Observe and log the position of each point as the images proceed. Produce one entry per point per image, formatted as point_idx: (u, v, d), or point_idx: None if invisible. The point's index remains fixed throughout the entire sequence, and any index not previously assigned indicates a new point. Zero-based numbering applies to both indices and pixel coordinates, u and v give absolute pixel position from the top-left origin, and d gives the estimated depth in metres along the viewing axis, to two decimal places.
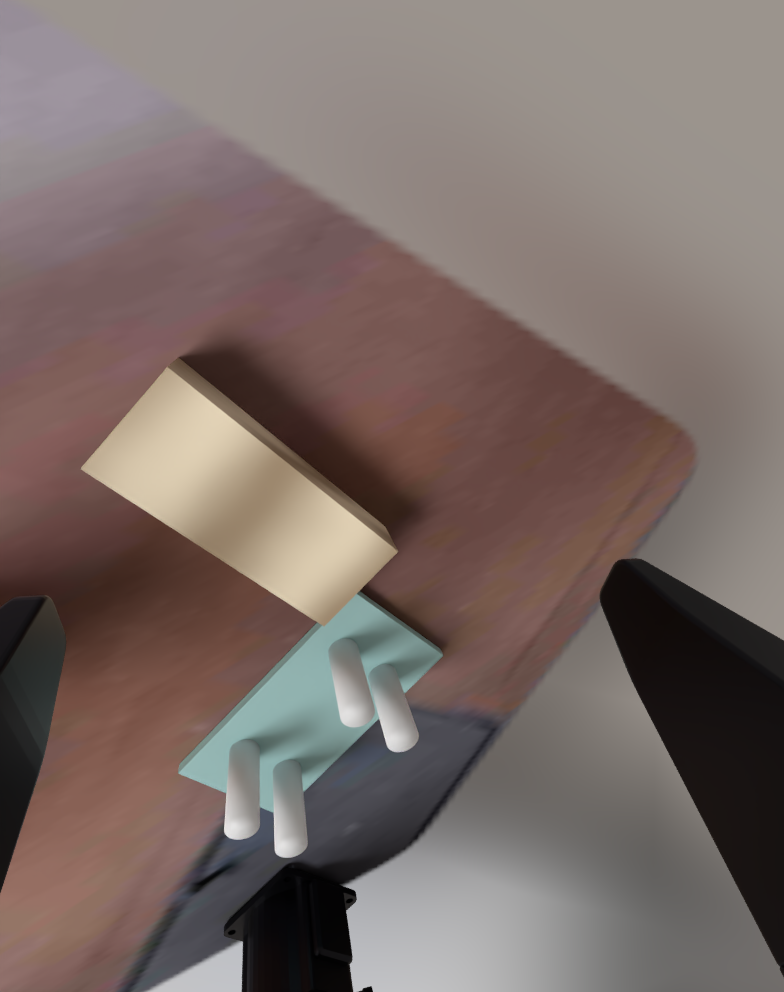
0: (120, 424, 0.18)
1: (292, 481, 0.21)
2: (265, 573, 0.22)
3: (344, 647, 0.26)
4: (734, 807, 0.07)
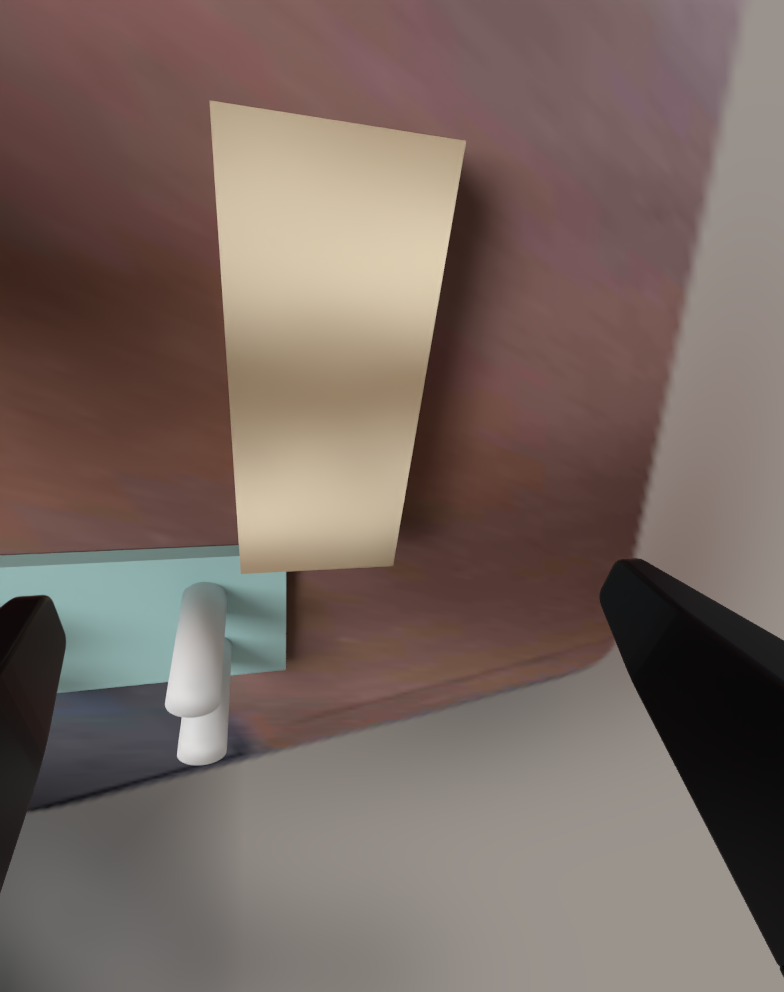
0: (333, 123, 0.10)
1: (403, 411, 0.14)
2: (256, 470, 0.14)
3: (218, 600, 0.18)
4: (734, 807, 0.07)
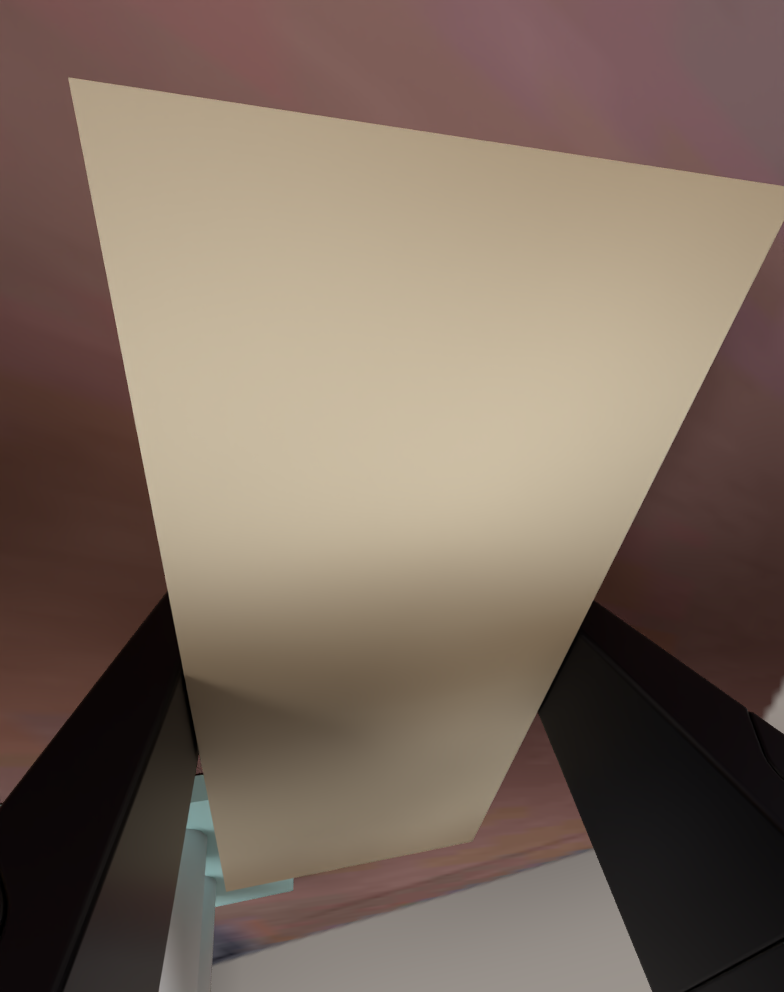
0: (466, 148, 0.03)
1: (526, 678, 0.07)
2: (249, 786, 0.07)
3: (191, 864, 0.12)
4: (616, 832, 0.07)
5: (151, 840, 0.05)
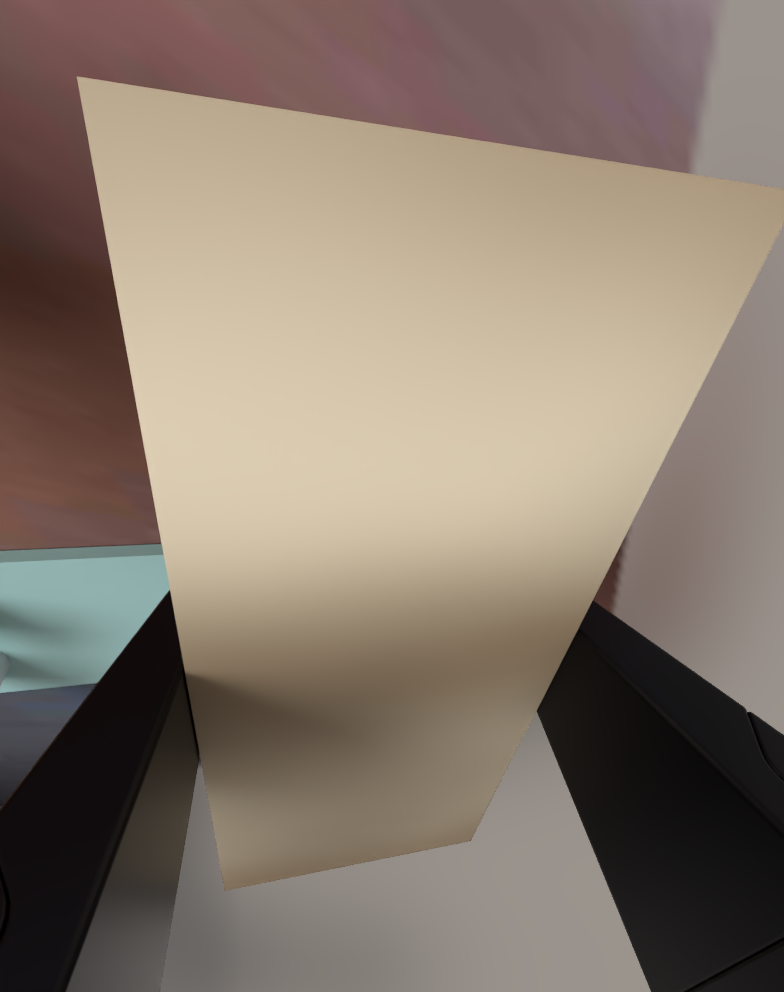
0: (471, 149, 0.03)
1: (526, 678, 0.07)
2: (248, 785, 0.07)
3: None
4: (615, 833, 0.07)
5: (153, 840, 0.05)
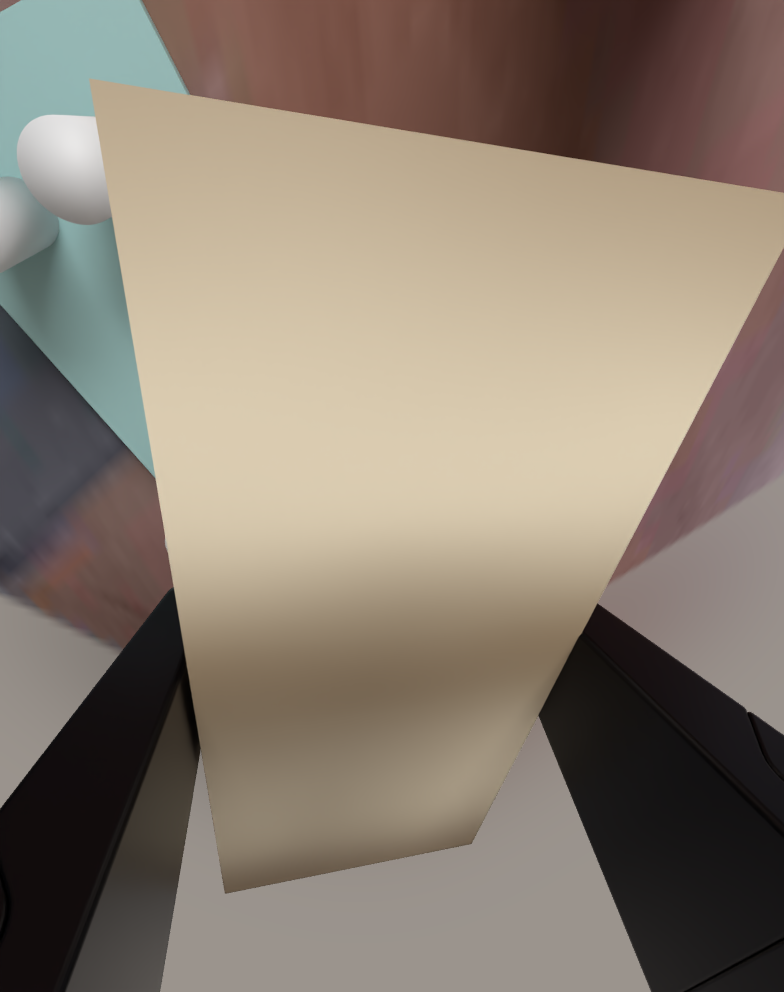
0: (483, 153, 0.03)
1: (529, 681, 0.07)
2: (250, 788, 0.07)
3: None
4: (615, 832, 0.07)
5: (153, 840, 0.05)
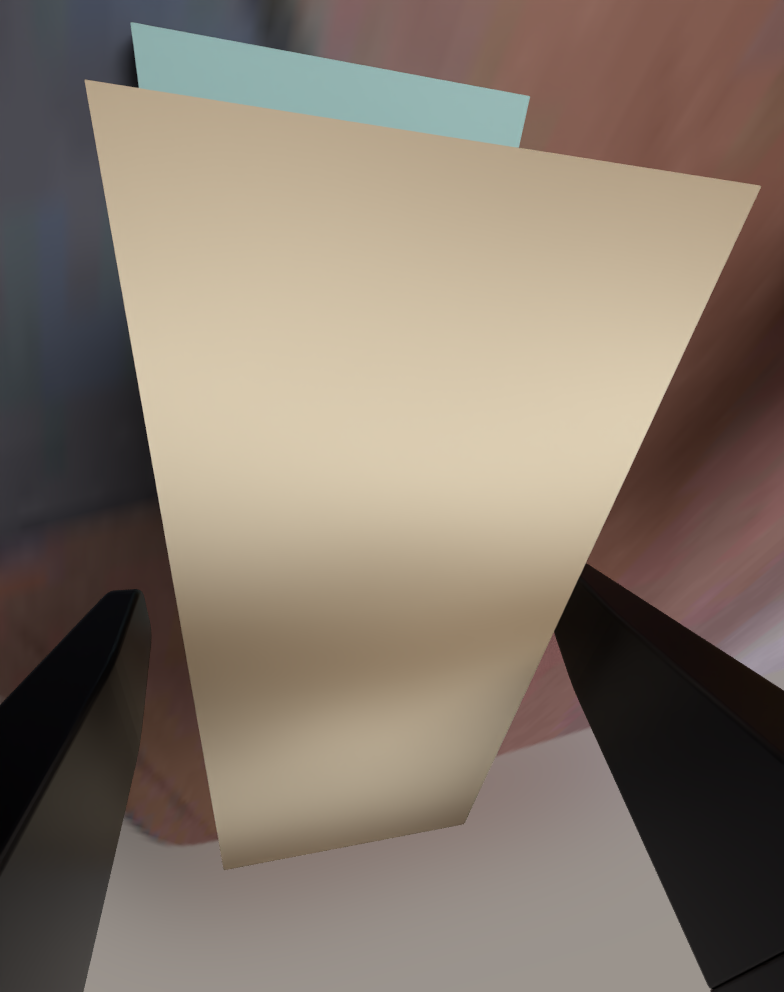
0: (449, 146, 0.04)
1: (514, 658, 0.08)
2: (246, 762, 0.08)
3: None
4: (666, 821, 0.07)
5: (61, 856, 0.05)
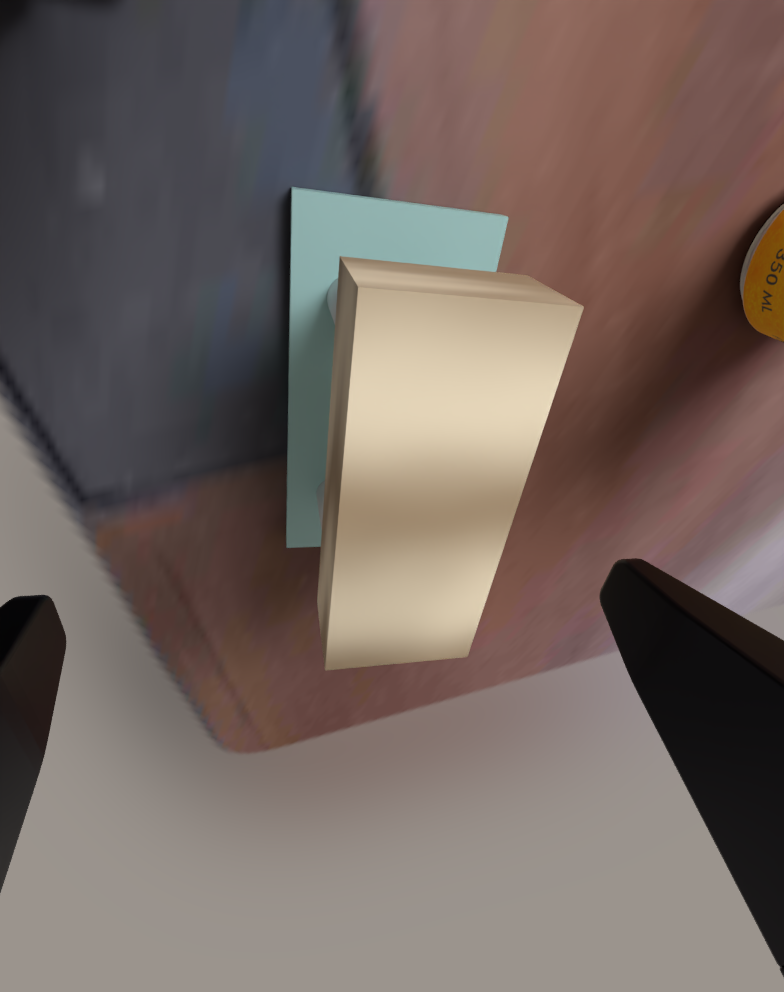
0: (466, 299, 0.10)
1: (495, 527, 0.14)
2: (352, 582, 0.14)
3: None
4: (734, 807, 0.07)
5: None
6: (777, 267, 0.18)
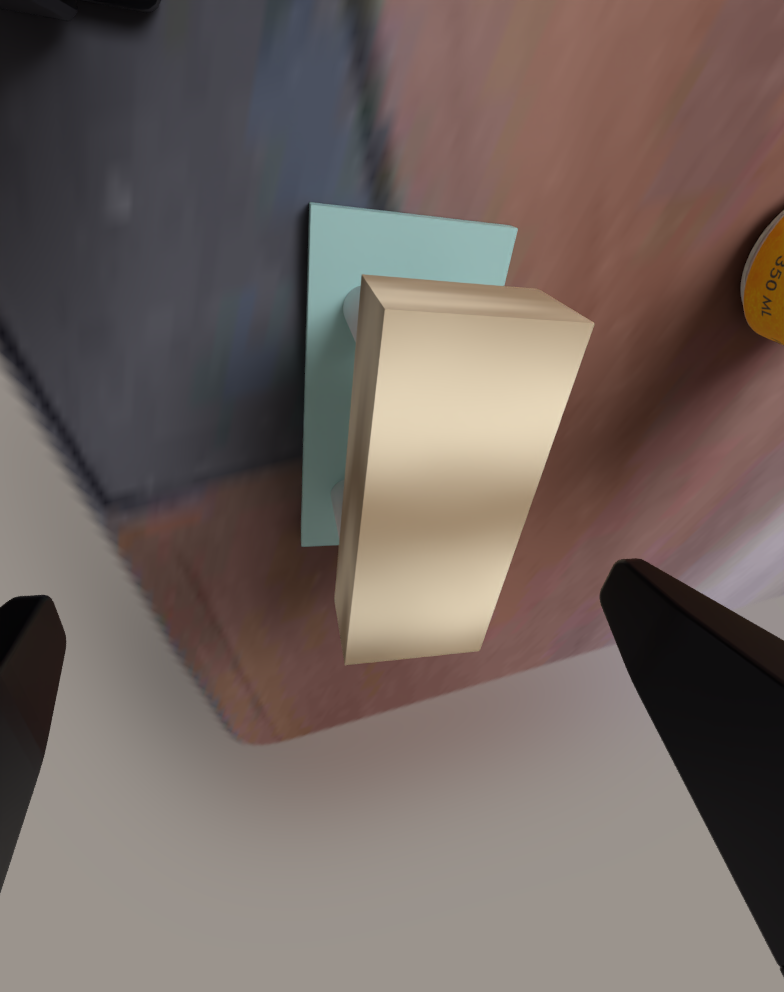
0: (485, 318, 0.11)
1: (508, 529, 0.15)
2: (373, 582, 0.15)
3: None
4: (734, 807, 0.07)
5: None
6: (776, 273, 0.19)
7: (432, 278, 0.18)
